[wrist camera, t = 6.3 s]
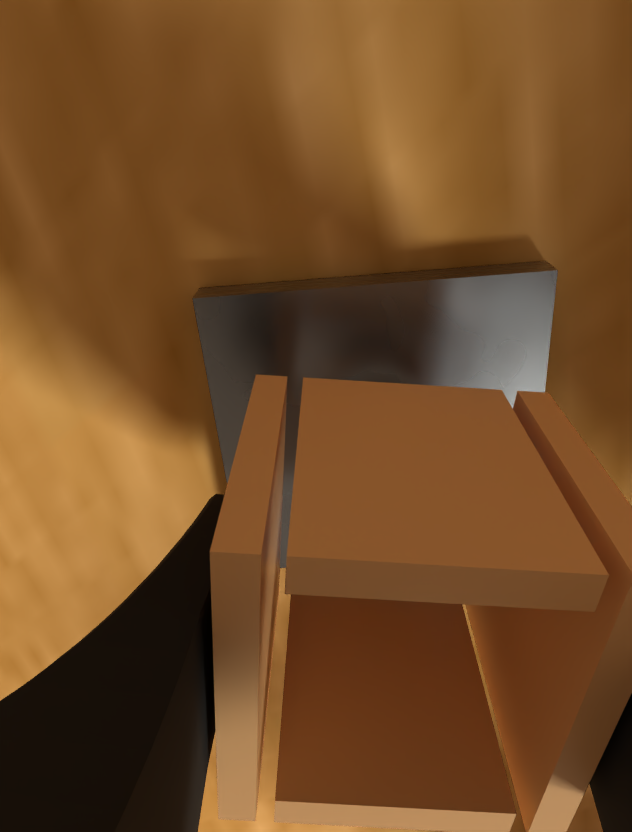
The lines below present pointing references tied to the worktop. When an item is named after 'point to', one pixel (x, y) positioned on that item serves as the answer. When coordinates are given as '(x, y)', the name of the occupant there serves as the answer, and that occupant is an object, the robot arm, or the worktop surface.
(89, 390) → the worktop surface
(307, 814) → the brown hollow box
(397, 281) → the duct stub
